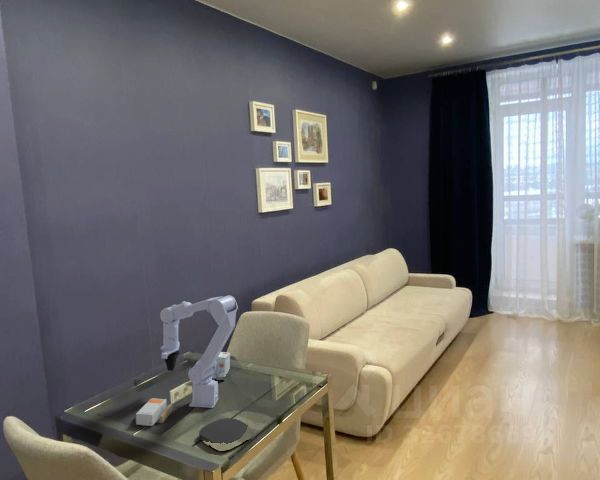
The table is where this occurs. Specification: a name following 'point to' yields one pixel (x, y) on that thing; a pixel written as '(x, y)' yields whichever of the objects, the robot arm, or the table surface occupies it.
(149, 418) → the skincare box
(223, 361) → the light bulb box
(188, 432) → the table surface
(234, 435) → the media streaming box
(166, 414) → the cradle
